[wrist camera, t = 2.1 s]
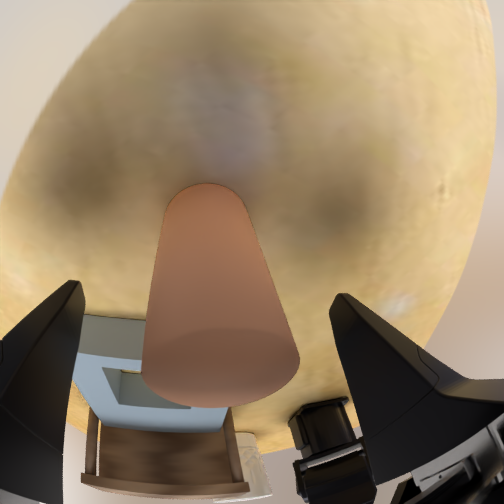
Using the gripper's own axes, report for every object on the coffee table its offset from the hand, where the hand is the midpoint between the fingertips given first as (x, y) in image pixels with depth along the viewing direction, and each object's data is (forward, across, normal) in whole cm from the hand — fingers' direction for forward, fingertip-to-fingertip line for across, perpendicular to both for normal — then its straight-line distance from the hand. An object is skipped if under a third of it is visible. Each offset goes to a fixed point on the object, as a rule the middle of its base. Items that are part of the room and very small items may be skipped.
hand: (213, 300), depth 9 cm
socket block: (+5, +3, +13) cm, 15 cm away
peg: (+5, 0, 0) cm, 5 cm away
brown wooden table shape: (+5, +3, +21) cm, 22 cm away
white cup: (+5, -6, +33) cm, 34 cm away
